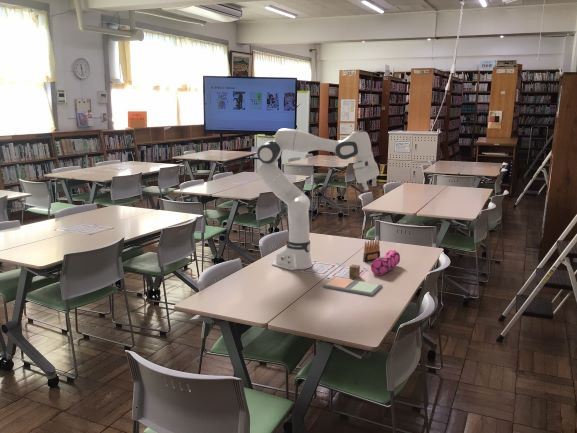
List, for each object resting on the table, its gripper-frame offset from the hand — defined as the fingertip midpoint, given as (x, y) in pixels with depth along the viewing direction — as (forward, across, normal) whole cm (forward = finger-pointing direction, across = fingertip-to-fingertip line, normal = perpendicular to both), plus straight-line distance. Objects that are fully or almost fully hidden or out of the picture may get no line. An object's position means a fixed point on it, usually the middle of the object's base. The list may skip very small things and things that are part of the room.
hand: (370, 188), depth 250 cm
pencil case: (+46, 0, -1) cm, 46 cm away
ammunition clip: (+44, -12, -15) cm, 48 cm away
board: (+42, +32, -4) cm, 52 cm away
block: (+42, +18, -10) cm, 47 cm away
